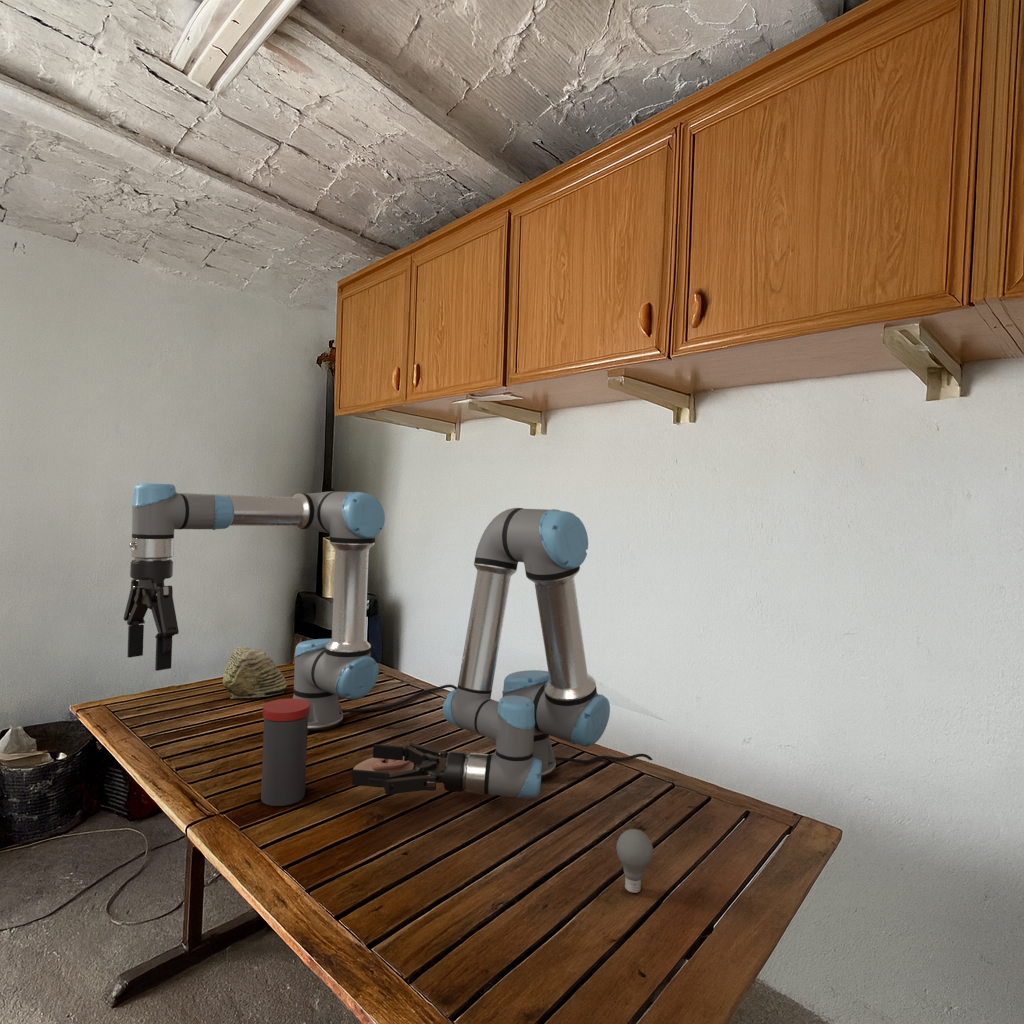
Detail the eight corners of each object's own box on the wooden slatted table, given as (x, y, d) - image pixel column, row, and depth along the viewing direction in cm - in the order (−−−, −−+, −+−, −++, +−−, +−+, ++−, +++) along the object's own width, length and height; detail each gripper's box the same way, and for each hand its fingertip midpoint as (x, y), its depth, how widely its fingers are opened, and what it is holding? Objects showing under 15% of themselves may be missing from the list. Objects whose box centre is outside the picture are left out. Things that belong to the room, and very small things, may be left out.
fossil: (218, 695, 195) (220, 647, 195) (278, 685, 208) (279, 640, 207) (228, 703, 189) (230, 653, 188) (289, 692, 201) (290, 645, 201)
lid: (310, 705, 139) (311, 697, 139) (308, 720, 130) (308, 711, 130) (265, 707, 136) (265, 699, 136) (259, 722, 127) (259, 713, 127)
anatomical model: (347, 757, 144) (369, 739, 156) (347, 774, 144) (368, 755, 156) (402, 764, 142) (420, 745, 153) (402, 782, 142) (419, 762, 153)
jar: (306, 785, 139) (309, 700, 138) (303, 804, 130) (307, 713, 130) (263, 788, 136) (267, 701, 136) (258, 807, 128) (261, 715, 128)
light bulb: (610, 879, 108) (613, 822, 108) (644, 879, 109) (647, 822, 109) (619, 902, 102) (622, 840, 102) (655, 901, 103) (658, 840, 103)
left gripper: (108, 554, 134) (104, 654, 134) (159, 565, 118) (155, 678, 119) (146, 552, 140) (143, 648, 140) (199, 563, 124) (195, 671, 124)
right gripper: (454, 820, 117) (341, 809, 118) (473, 766, 141) (380, 758, 143) (456, 779, 117) (344, 769, 118) (475, 732, 141) (381, 724, 143)
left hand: (148, 662), depth 129 cm, fingers open, 13 cm apart
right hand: (363, 763), depth 131 cm, fingers open, 13 cm apart
